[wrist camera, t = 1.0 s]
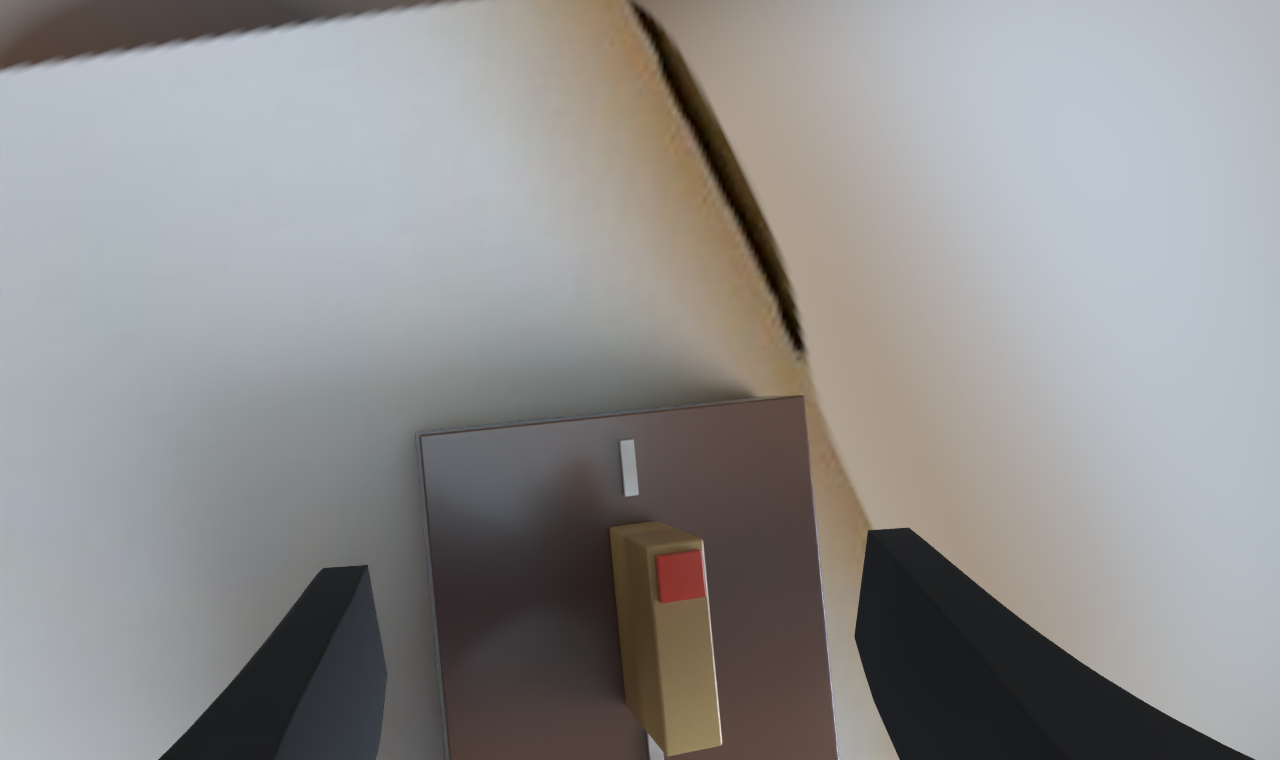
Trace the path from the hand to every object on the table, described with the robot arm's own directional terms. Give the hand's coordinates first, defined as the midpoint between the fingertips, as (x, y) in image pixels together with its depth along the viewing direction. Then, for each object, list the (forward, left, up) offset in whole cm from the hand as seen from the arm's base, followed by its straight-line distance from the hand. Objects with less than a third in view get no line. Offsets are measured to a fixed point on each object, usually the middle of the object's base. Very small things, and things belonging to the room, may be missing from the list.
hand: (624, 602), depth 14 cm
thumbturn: (-3, -3, -10) cm, 10 cm away
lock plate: (-3, -3, -13) cm, 13 cm away
